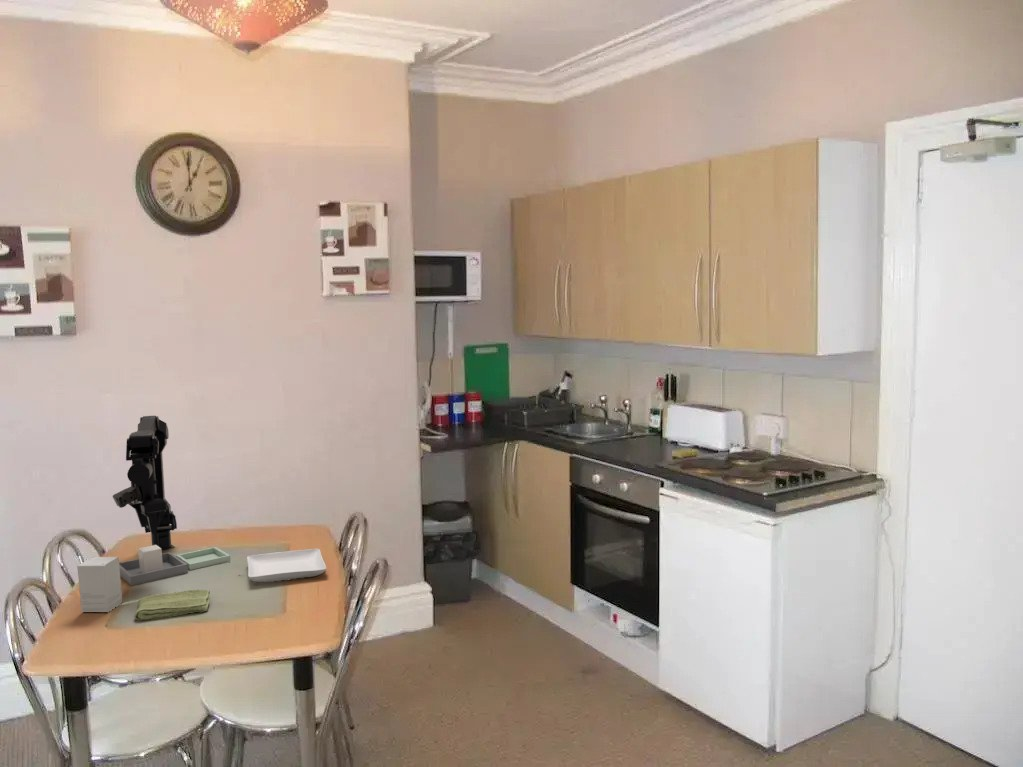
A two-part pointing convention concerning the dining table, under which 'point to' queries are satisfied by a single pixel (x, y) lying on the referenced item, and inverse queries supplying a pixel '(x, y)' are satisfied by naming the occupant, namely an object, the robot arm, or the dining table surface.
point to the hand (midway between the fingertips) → (148, 530)
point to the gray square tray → (170, 568)
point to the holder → (204, 558)
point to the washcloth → (172, 604)
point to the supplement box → (100, 584)
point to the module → (150, 558)
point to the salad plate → (285, 565)
